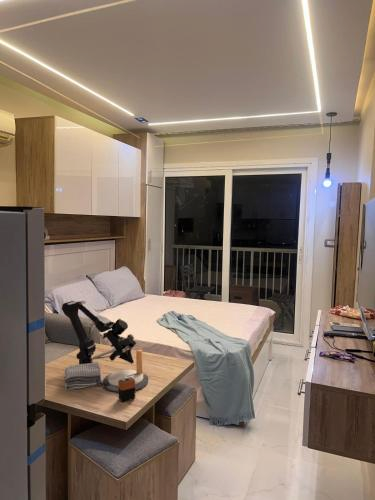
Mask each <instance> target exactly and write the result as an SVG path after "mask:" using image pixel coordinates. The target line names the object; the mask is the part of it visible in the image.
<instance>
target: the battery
mask: <svg viewBox="0 0 375 500" xmlns="http://www.w3.org/2000/svg"><path fill="white" fill-rule="evenodd" d="M118 387H119V393H118V400H120V402H121V403H123V402H127V401H130V400H131V401H132V400H134V399H136V391H135V380H134V379H133V378H132V377H129V378H122V379H121V380H119V381H118Z"/></svg>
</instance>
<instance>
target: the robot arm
mask: <svg viewBox="0 0 375 500" xmlns="http://www.w3.org/2000/svg"><path fill="white" fill-rule="evenodd" d="M61 310H62V312H63V313H64V315H65V316H66V317H67V318H68V319H69V320H70V322H71V323H70V324H71V325H72V328H73V329H74V332H75V335H76V337H77V340H78V341H79V344H78V348H79V351H78V353H77V354H76V355H75V356H76V359H77V360H78V363H79V364H78V365H80V364H88V363H94V361H93V360H94V359H92V358H93V355H94V353H95V351H96V350H97V347H96V344H95V341H94V339H93V338H92V339H90V338H89V337H88V335H87V332H86V330H85V327H84V325H83V323H82V321H81V318H80V317H79V311H80V312H81V313H82V314H84V315H85V316H87V317H88V318H89V319H90V320H91V321H92V322H93V323H94V325H95V328H96V329H97V330H98V332H100V333H103V336H102V339H107V340H108V341H109V343H110V347H111V348H115V349H116V351H114V352H112V353H110V355H109V360H110V361H111V362H113V361H114V360H115V359H117V357H118V359H120V360H124V361H126V362H127V363H129V364H134V362H135V361H134V358H133V355H132V349H133V348H134V347H135V346H137V342H136V341H135V337H134V335H132V334H131V333H130V334H128V335H127V336H126V337H125V338H124V337H123V336H121V335H122V334H124V332H125V331H126V330H127V329H128V328H129V326H128V322H126V321H125V320H123V319H121V318H118V319H117V320H116V321H115V322H114V321H111V320H110V319H109V318H107V317H105V316H102V315H100V314H99V313H98V312H97V311H95V309H93V308H92V307H91V306H90V305H89V304H88V303H87V302H86V301H85V300H81V301H80V300H79V301H75V300H70V301H67V302H64V303H62V306H61Z"/></svg>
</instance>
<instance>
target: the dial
mask: <svg viewBox="0 0 375 500" xmlns="http://www.w3.org/2000/svg"><path fill="white" fill-rule="evenodd" d="M135 354H136V355H135V356H136V358H135V361H136V364H135V365H136V367H135V368H136V369H123V370H122V369H121V370H118V371H115V372H112V374H111V373H110V375H109V374H108V375H109V377H108V382H109V384H111V385H113V386H117V387H118V381H119V380H121V379H122V378H129V377H132V378H133V379H134V380H135V385H137V384H139V383H140V382H142V380H143V374H142V372H143V350H142V349H136V353H135Z"/></svg>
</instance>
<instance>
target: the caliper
mask: <svg viewBox="0 0 375 500" xmlns="http://www.w3.org/2000/svg"><path fill="white" fill-rule="evenodd" d="M114 351H116V349H115V348H114V347H112V348H111V349H109V350H107V351H104V352H101V353H99V354H96V355H94V356H93V355H92V359H93V360H94V359H99V358H101V357H104V356H106V355H109V354H112V353H113V352H114Z"/></svg>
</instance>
